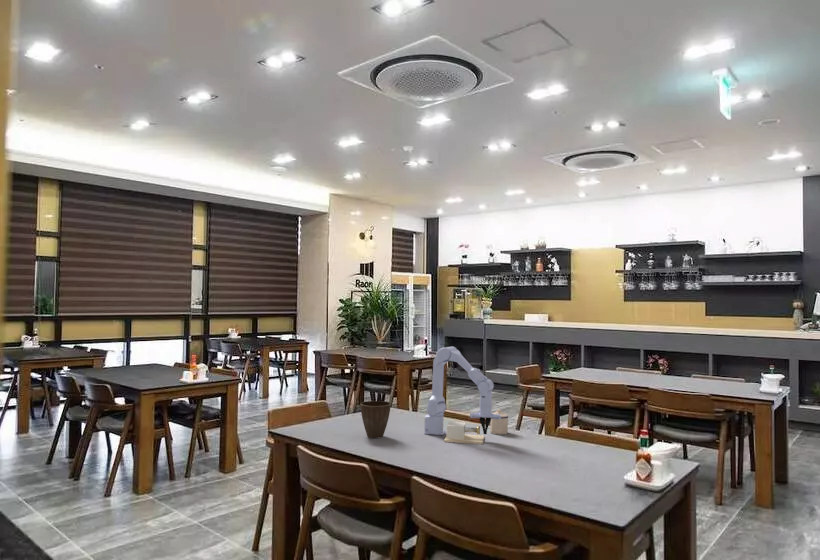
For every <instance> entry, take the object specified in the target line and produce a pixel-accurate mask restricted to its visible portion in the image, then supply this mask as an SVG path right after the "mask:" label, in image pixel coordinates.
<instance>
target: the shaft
mask: <svg viewBox="0 0 820 560" xmlns="http://www.w3.org/2000/svg"><path fill="white" fill-rule="evenodd" d="M464 432H465V433H472V434H473V433H474V434H476V435H481V433H480V432H481V427H480V426H479V425H478V426H476V427H474V426H473V427H471V426H469V427H468V426H465V427H464Z"/></svg>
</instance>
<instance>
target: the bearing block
mask: <svg viewBox="0 0 820 560" xmlns="http://www.w3.org/2000/svg"><path fill="white" fill-rule="evenodd" d="M464 427H466V422H460V421H459V422H456V421H449V422H448V424H447V425H446V435H445V438H444V439H443V442H444V443H453V442H455V443H457V444H458V443H459V444H472V445H473V444H474V445H483V444H484V439H485V434H484V435H483V434H480V435H479V434H469V433H467V434H466V432H464Z"/></svg>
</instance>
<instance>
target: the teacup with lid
mask: <svg viewBox="0 0 820 560" xmlns="http://www.w3.org/2000/svg"><path fill="white" fill-rule="evenodd" d="M491 414H497V415H501V420H499V419H491V421H490V424H489V426H490V433H491V434H493V435H498V436H499V435H500V436H501V435H502V436H503V435H507V434H508V433H509V432H508V431H509V430H508V429H509V428H508V424H509V423H508V422H509V420H508V419H509V415H508V414H507V413H505V412H503V411H502V409H497V410H496V411H495V412H491Z"/></svg>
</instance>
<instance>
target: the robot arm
mask: <svg viewBox="0 0 820 560" xmlns="http://www.w3.org/2000/svg"><path fill="white" fill-rule="evenodd" d="M449 361H450V362H455V363H457V364H458V365H459V366H461V368H463V369H464V370H465V371H466V372H467V376H468V378H469V379H470V380H471V381H472V382H473V383H475V385H476V386H477V391H479V412H476V413H475V412H470V414H469V418H470V419H479V422H480V425H481V428H482V432H483V434H484V435H487V433H488V428H489V426H490V425H489V424H490V422H491V419H499V420H501V415H497V414H492V413H493V412H492V406H493V405H492V401H493V400H492V399H493V396H492V395H493V389H494V388H495V384H494V382H493V380H492V379H489V378H488V376H485V375H484V374H483V373H482V372H481V369H480V368H476V367H473V366H472V365H471V364H470V363H469V361H468V360H467V359H466V358H465V357H464V356H463V354H462V353H461V351H460V350H459V349H457V347H455V346H453V345H452V346H446V347H445V346H444V347H441V348H439V349H438V350H437V351H436V355H435V357H434V358H433V361H432V363H433V364H432V382H431V383H432V384H431V385H432V387H431V396H430V398H429V400H428V404H427V406H426V411H427V414H425V416H424V431H423V432H424V434H425V435H438V436H440V435H441V436H443V435H444V434H445V432H446V431H445V430H444V417H445V416H444V415H445V412H446V410H447V405H446V401H445V400H446V399H445V397H444V396H443V394H444V373H445V365H446V364H447V363H448V362H449Z"/></svg>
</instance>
